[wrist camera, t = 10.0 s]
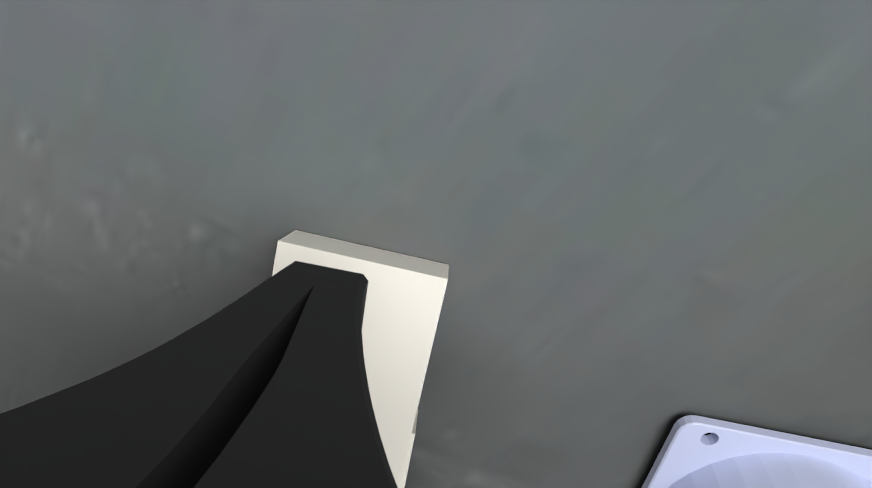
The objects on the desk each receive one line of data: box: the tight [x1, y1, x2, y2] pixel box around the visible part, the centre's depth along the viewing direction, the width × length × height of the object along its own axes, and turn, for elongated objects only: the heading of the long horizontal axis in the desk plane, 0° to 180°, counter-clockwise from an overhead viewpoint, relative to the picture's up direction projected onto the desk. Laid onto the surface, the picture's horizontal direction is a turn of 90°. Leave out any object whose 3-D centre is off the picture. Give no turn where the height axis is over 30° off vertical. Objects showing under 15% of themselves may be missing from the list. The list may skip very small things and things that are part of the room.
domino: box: [272, 230, 449, 488], centre depth 16 cm, size 4×2×9 cm
